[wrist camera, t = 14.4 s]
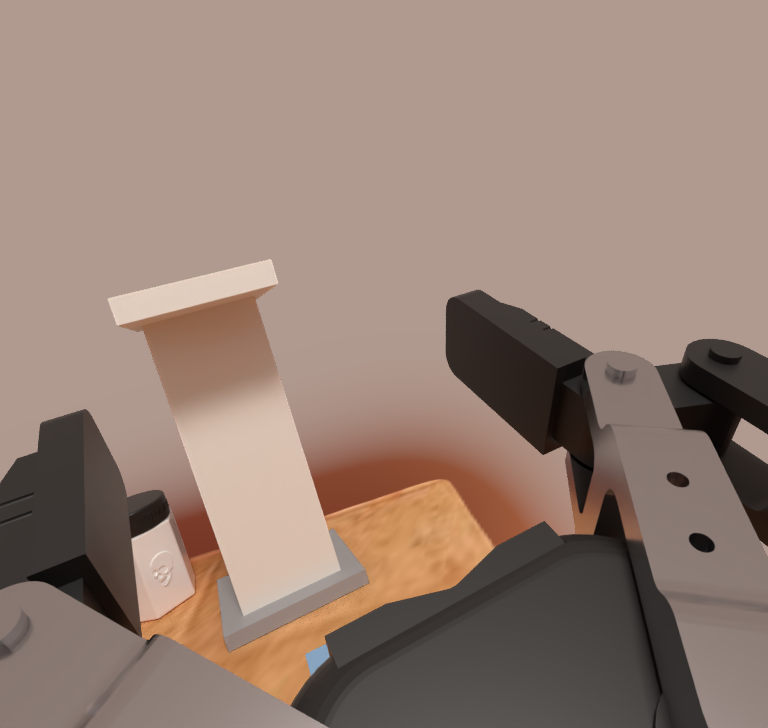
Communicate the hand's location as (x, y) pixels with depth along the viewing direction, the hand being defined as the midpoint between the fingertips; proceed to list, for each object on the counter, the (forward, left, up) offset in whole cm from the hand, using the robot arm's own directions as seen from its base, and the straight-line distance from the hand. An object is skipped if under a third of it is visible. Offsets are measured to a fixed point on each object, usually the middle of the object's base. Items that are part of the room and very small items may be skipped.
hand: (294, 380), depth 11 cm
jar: (-23, +49, -26) cm, 60 cm away
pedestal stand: (-7, +38, -26) cm, 46 cm away
